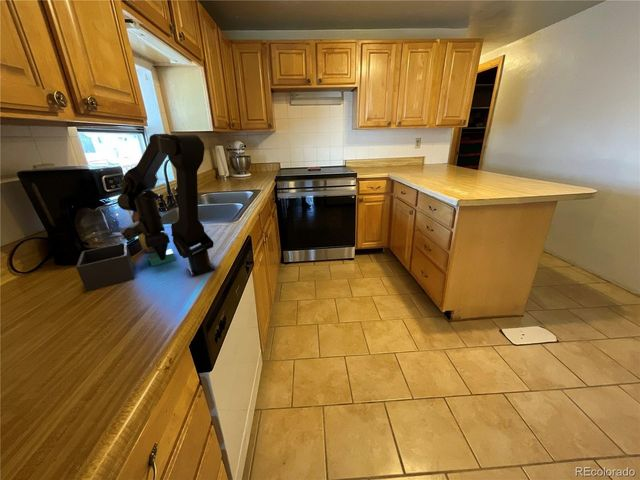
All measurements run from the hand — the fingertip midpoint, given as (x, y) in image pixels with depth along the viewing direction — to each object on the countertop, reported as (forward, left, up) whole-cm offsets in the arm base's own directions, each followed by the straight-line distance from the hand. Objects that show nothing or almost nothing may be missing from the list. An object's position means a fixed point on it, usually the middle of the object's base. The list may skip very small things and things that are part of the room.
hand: (161, 257), depth 89 cm
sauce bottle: (+13, +2, -1) cm, 13 cm away
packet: (0, 0, -1) cm, 1 cm away
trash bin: (-2, +14, -1) cm, 14 cm away
